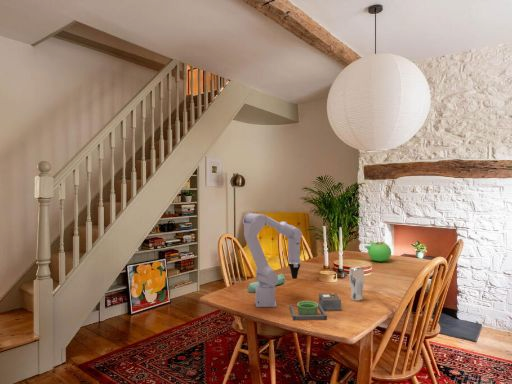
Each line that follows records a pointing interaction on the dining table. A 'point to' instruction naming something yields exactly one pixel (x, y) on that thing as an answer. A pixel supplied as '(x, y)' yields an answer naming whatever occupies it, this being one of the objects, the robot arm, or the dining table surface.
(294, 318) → the frame
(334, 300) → the box
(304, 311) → the ramekin
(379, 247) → the green round body
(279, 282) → the teal cylinder
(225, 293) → the dining table surface
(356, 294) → the beer glass
